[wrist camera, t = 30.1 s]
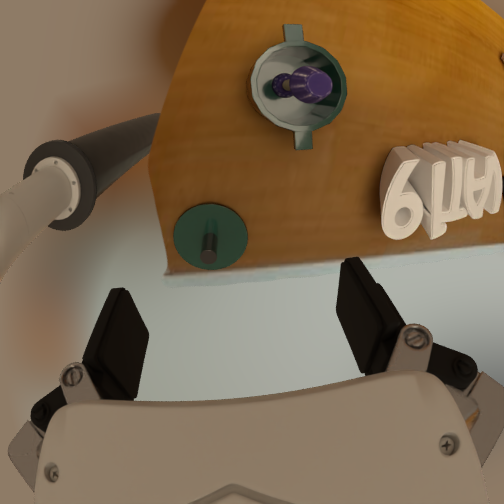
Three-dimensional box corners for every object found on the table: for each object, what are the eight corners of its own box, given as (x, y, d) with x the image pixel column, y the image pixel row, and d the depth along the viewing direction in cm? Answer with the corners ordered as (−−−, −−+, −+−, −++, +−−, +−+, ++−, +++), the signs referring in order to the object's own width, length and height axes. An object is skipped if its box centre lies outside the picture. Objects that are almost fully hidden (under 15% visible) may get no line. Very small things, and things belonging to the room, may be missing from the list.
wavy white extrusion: (482, 140, 42) (513, 153, 33) (476, 202, 51) (502, 222, 42) (361, 143, 43) (391, 158, 34) (363, 224, 52) (387, 252, 43)
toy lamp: (305, 81, 37) (347, 76, 23) (293, 105, 39) (329, 112, 25) (278, 69, 35) (306, 54, 21) (266, 93, 38) (288, 91, 23)
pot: (252, 143, 42) (258, 154, 34) (240, 39, 33) (243, 24, 25) (326, 137, 42) (349, 148, 34) (318, 37, 33) (340, 25, 25)
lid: (183, 270, 54) (179, 293, 48) (166, 208, 47) (158, 226, 41) (251, 261, 54) (254, 284, 48) (242, 197, 47) (244, 213, 41)
